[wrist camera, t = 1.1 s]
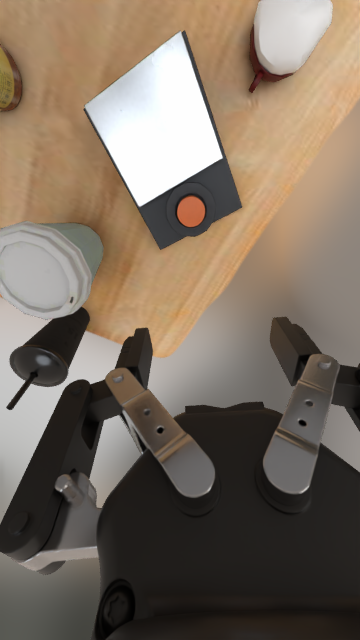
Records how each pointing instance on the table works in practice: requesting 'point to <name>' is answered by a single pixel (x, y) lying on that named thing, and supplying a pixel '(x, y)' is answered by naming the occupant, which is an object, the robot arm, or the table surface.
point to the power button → (191, 211)
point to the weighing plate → (156, 122)
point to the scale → (189, 191)
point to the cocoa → (286, 36)
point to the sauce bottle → (9, 82)
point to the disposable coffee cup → (48, 267)
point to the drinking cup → (49, 352)
